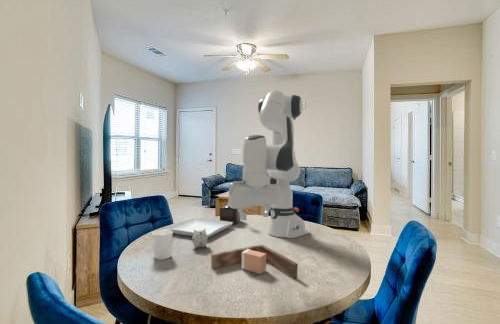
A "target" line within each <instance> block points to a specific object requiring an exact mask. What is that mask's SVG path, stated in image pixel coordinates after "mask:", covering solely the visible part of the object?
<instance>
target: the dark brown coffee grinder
mask: <svg viewBox="0 0 500 324" xmlns="http://www.w3.org/2000/svg"><path fill="white" fill-rule="evenodd" d="M219 220H220V221H227V222H233V223H232V225H237V224H239V223H240V222H241V219H240V213H239V212H238V208H237V209H233V208H231V207H229V205H228V203H227V204H225V205H223V206H221V207H219Z"/></svg>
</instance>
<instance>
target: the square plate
mask: <svg viewBox="0 0 500 324" xmlns="http://www.w3.org/2000/svg"><path fill="white" fill-rule="evenodd" d="M232 223H233V222H227V221H220V219H214V218H213V219H212V218H200V217H192V218H190V219H186V220H183V221H180V222H179V221H178V222H177V223H175V224H171V225H168V226H167V227H165V228H164V229H163V230H171V231H173V234H174V235H175V234H176V235H181V236H186V237H193V234H194V232H195V231H201V230H204V229H206V230H205V232H206V234H207V235H208V237H210V238H211V237H212V236H214V235H216V234H218V233H220V232H222V231H224V230H226V229H227V228H228V229H229V227H231V226H232V225H233V224H232ZM194 230H195V231H194Z"/></svg>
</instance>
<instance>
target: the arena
mask: <svg viewBox="0 0 500 324" xmlns="http://www.w3.org/2000/svg"><path fill="white" fill-rule="evenodd" d="M247 249H249V250H253V251H258V252H262V253H266V264H269V265H270V266H272V267H274V269H275V268H276V269H277V270H278V271H280V272H282V273H283V274H285V275H287V276H288V277H289V278H291V279H292V280H295V279H298V263H297V262H296V261H293V260H292V259H290V258H288V257H286V256H284V255H282V254H281V253H279V252H277V251H276V250H274V249H271V248H270V247H268V246H266V245H265V244H257V245H252V246H246V247H242V248H236V249H231V250H225V251H219V252H215V253H213V252H212V253H210V256H211V257H210V258H211V259H210V260H211V261H210V264H211V265H210V266H211V269H217V268H219V269H220V268H222V267H229V266H232V265H237V264H242V252H243V251H245V250H247ZM245 271H246V272H247V273H249V274H250V275H251V276H253V277H258V276H261V275H262V276H263V275H266V274H267V272H266V270H265V271H264V272H262V273H261V274H259V273H255V272H252V271H248V270H245Z"/></svg>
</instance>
